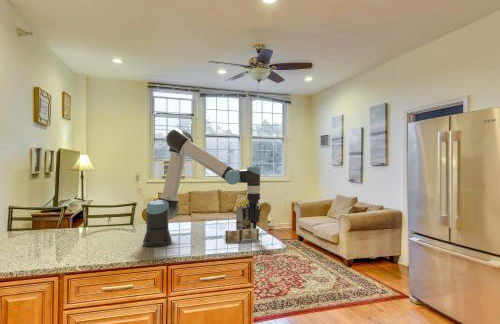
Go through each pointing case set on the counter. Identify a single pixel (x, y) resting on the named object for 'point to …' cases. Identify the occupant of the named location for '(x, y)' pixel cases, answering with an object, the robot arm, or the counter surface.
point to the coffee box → (242, 219)
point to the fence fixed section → (233, 235)
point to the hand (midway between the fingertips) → (253, 233)
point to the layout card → (241, 241)
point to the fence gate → (247, 234)
